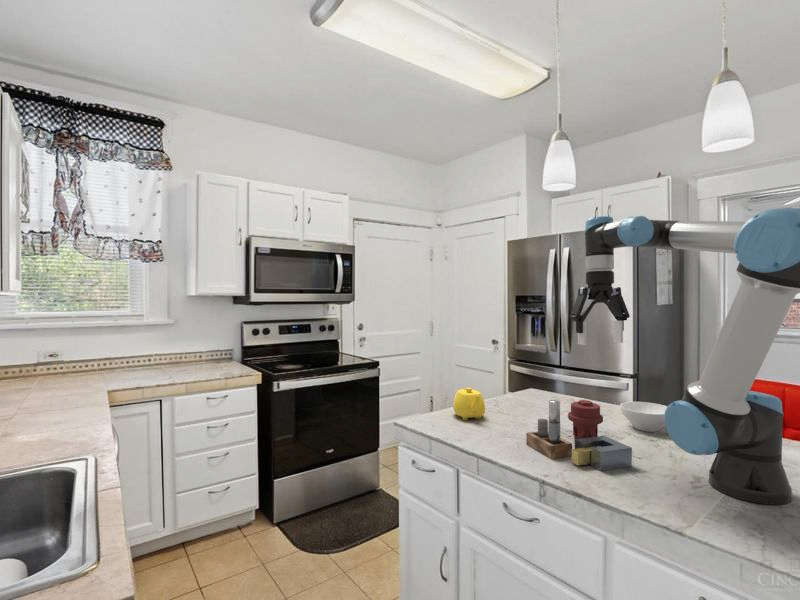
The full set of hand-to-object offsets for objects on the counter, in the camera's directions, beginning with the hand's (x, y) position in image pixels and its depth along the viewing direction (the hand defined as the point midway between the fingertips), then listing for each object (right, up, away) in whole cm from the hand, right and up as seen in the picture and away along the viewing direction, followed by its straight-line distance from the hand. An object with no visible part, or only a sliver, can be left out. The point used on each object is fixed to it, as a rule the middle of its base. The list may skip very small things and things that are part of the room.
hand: (600, 343), depth 128 cm
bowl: (+24, -31, +20) cm, 44 cm away
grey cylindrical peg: (-14, -31, -2) cm, 34 cm away
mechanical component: (-1, -31, +7) cm, 32 cm away
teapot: (-33, -31, +34) cm, 56 cm away
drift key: (-9, -31, -10) cm, 34 cm away
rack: (-15, -31, 0) cm, 35 cm away
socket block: (-3, -31, -9) cm, 33 cm away
